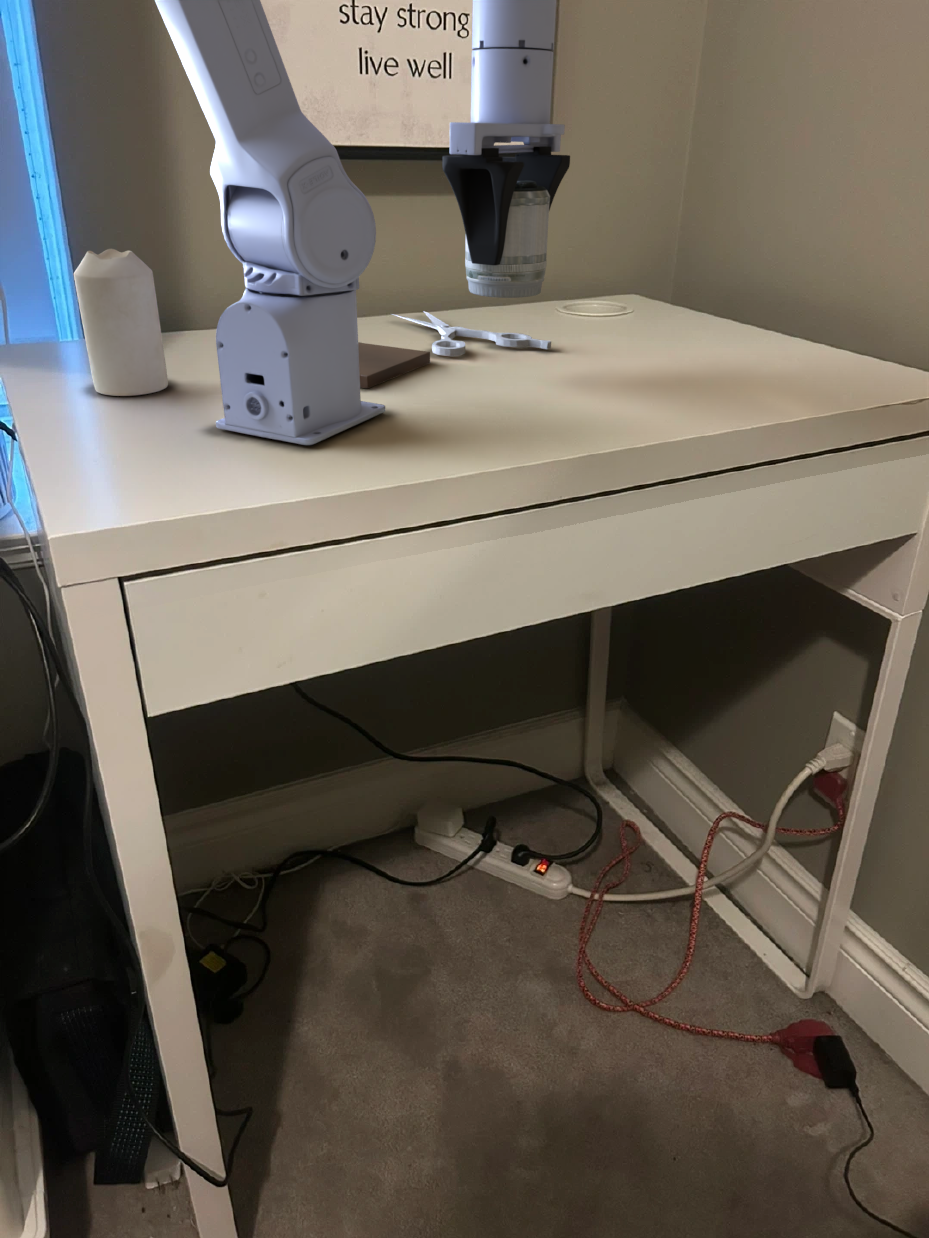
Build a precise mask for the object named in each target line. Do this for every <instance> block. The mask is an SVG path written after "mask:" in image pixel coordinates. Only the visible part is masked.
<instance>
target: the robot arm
mask: <svg viewBox="0 0 929 1238" xmlns="http://www.w3.org/2000/svg"><path fill="white" fill-rule="evenodd" d="M154 2H155V4H156V6H157V9H158V11H159V14H160V15H161V18H162V20H163V23H164V25H165V28H166V29H167V32H168V34H169V36H170V39H171V41H172V43H173V45H174V48H175V50H176V52H177V55H178V57H179V60H180V62H181V64H182V67H183V69H184V71H185V73H186V76H187V78H188V80H189V82H190V85H191V87H192V89H193V91H194V93H195V96H196V99H197V101H198V103H199V106H200V108H201V110H202V112H203V114H204V117H205V119H206V121H207V123H208V126H209V128H210V131H211V134H212V135H213V138H214V141H215V146H214V147H215V148H214V150H213V151H214V152H213V155H212V159H211V164H210V169H209V174H210V177H211V179H212V181H213V183H214V186H215V188H216V192H217V194H218V197H219V203H220V225H221V231H222V235H223V238H224V241H225V243H226V245H227V248H228V249H229V251H230V252H231V254H232V255H233V256H234V257H235V258H236V259H237V260H238V261H239V262H240V263H241V264H242V267H243V276H244V287H245V289H244V292H243V295H242V297H241V298H240V299H239V300H238V301H236V302H234V303H232V304H231V305H229V306H228V307H226V308H225V309H224V311H223V312H222V313H221V315H220V317H219V320H218V323H217V326H216V332H215V347H216V355H217V356H216V357H217V363H218V372H219V380H220V381H219V382H220V389H221V399H222V408H223V415H224V417H222V418H220V419H218V420H216V422H215V428H217V429H219V430H223V431H229V432H233V433H234V432H235V433H240V434H245V435H250V436H255V437H261V438H266V439H272V440H275V441H282V442H287V443H292V444H296V445H297V444H298V445H302V446H313V445H315V444H317V443H320V442H321V441H324V440H326V439H328V438H331V437H333V436H335V435H337V434H339V433H342V432H344V431H346V430H348V429H350V428H353V427H355V426H357V425H359V424H361V423H363V422H366V421H368V420H370V419H373V418H374V417H376V416H379V415H381V414H383V413H385V412H386V409H387V408H386V405H385V404H382V403H377V402H370V401H363V400H362V399H361V387H360V373H359V349H358V342H359V329H358V326H359V325H358V305H357V290H360V276H361V275H362V274H363V273H364V272H365V270H366V269H367V268H368V267H369V264H370V262H371V260H372V257H373V255H374V251H375V247H376V241H377V226H376V219H375V215H374V212H373V208H372V206H371V203H370V202H369V200H368V198H367V197H366V195H365V194H364V193H363V192H362V191H361V189H360V188H358V186H357V185H355V183H354V182H353V181H352V180H351V179H350V177H349V176H348V174H347V172H346V170H345V168H344V166H343V164H342V161H341V158H340V156H339V153H338V151H337V149H336V147H335V145H333V143H331V141H330V140H329V139H328V138H327V137H326V136H325V135H324V133H322V132H321V131H320V130H319V128H318V127H316V125H314V124H313V123H312V122H311V121H310V120H309V119H308V117H307V116H306V115H305V114H304V112H303V111H302V110H301V107H300V104H299V102H298V101H299V100H298V98H297V96H296V93H295V91H294V88H293V85H292V83H291V80H290V78H289V75H288V71H287V69H286V66H285V63H284V61H283V59H282V55H281V53H280V51H279V48H278V45H277V43H276V39H275V37H274V34H273V31H272V29H271V26H270V23H269V20H268V18H267V15H266V12H265V9H264V7H263V4H262V2H261V0H154ZM556 14H557V0H472V23H471V24H472V25H471V26H472V28H471V29H472V34H471V35H472V37H471V75H470V76H471V82H470V84H471V85H470V122H461V121H459V122H458V121H457V122H456V121H450V122H449V155H442V172H443V173H444V175H445V177H446V179H447V181H448V183H449V185H450V187H451V189H452V191H453V194H454V197H455V199H456V202H457V205H458V208H459V212H460V216H461V220H462V224H463V229H464V233H465V240H466V239H467V244H468V249H469V253H470V258H471V261H472V263H473V264H483V265H500V262H501V258H502V254H503V250H504V243H505V235H506V227H507V219H508V213H509V208H510V204H511V200H512V196H513V193H514V190H515V187H516V184H517V181H518V180H531V181H535V182H536V184H537V186H543V187H545V188H546V189H547V191H548V193H549V195H550V202H549V212H550V210H551V207H552V204H553V201H554V199H555V197H556V194H557V192H558V189H559V187H560V185H561V183H562V181H563V180H564V177H565V175H566V173H567V172H568V170H570V169H569V168H570V165H571V155H570V154H569V155H568V154H552V153H560V152H561V142H562V136H563V135H565V129H566V125H565V124H563V123H551V109H552V108H551V107H552V89H553V69H554V51H555V35H556ZM497 143H498V144H497ZM511 143H523V144H511ZM500 154H515V155H514V156H500Z"/></svg>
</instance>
